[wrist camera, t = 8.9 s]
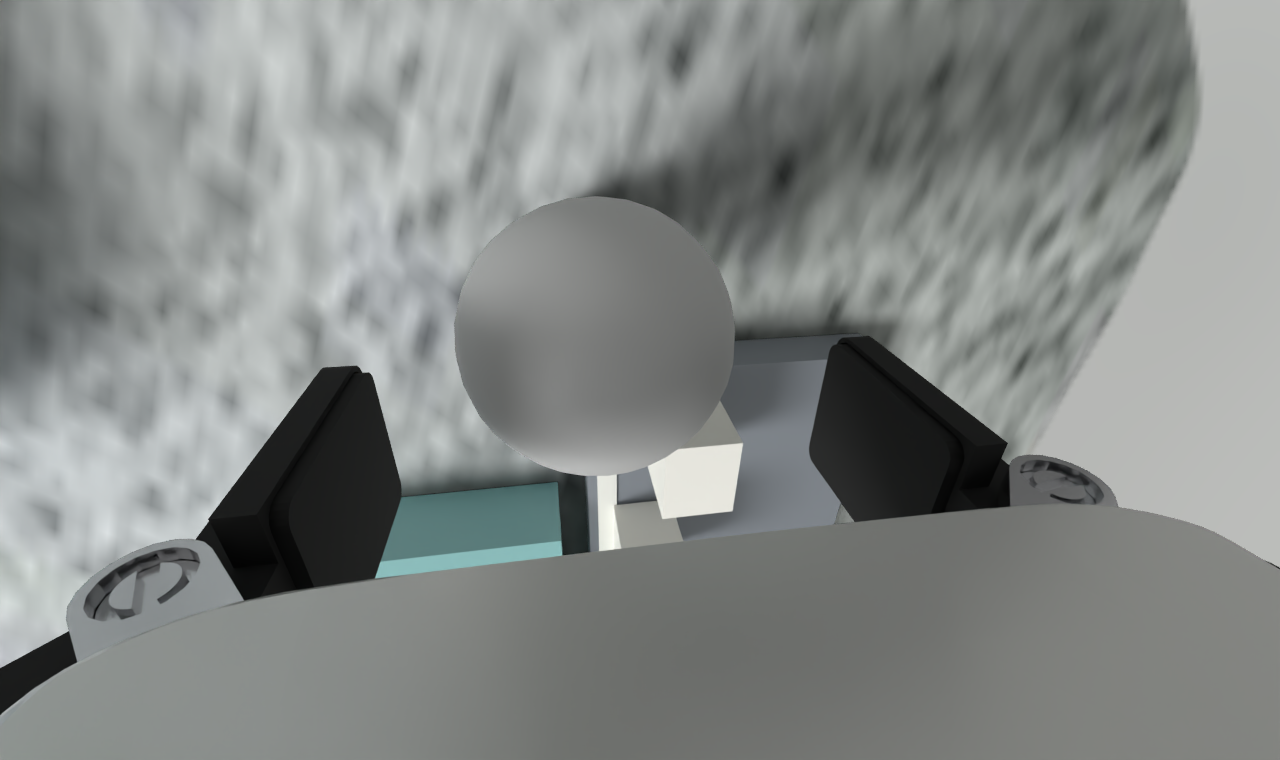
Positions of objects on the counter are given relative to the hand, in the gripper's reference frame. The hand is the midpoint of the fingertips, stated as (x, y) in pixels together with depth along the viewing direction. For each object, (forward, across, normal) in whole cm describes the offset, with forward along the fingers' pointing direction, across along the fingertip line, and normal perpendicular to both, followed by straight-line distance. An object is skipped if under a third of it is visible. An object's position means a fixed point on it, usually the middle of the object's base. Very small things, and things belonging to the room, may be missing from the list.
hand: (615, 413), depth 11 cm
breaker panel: (+10, -6, +11) cm, 16 cm away
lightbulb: (+10, 0, -1) cm, 10 cm away
